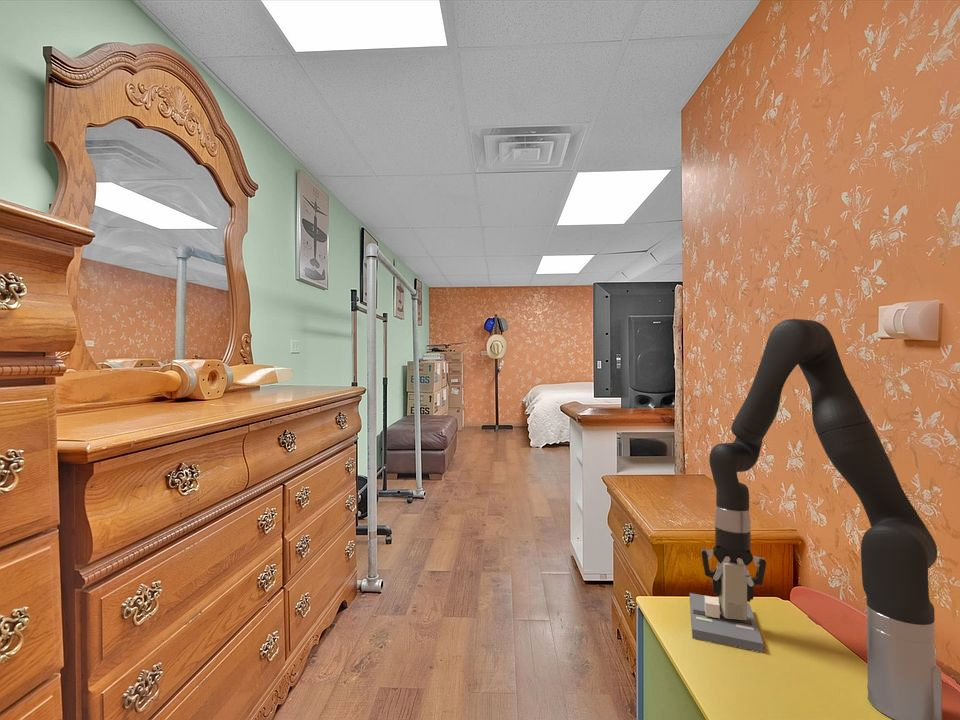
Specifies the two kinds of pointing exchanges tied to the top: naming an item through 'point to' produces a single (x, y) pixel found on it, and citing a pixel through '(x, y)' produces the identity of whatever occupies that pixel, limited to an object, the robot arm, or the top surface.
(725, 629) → the switch board
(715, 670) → the top surface
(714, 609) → the tab
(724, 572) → the box
